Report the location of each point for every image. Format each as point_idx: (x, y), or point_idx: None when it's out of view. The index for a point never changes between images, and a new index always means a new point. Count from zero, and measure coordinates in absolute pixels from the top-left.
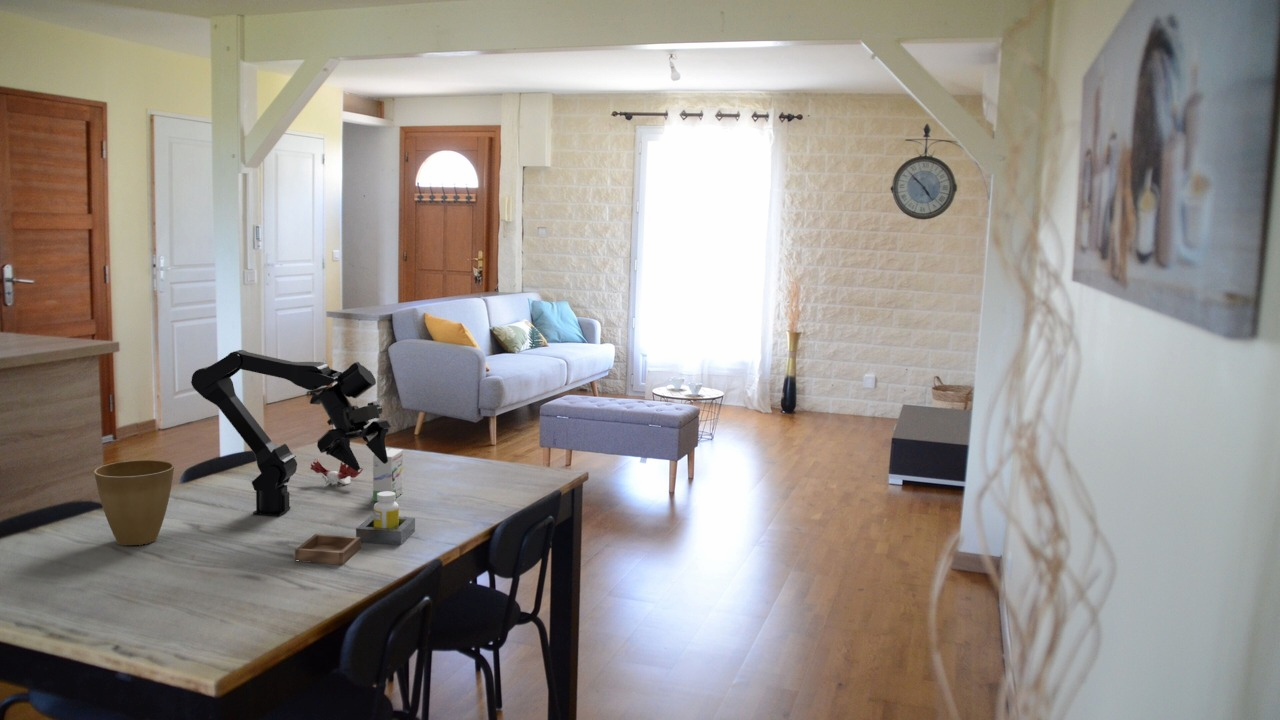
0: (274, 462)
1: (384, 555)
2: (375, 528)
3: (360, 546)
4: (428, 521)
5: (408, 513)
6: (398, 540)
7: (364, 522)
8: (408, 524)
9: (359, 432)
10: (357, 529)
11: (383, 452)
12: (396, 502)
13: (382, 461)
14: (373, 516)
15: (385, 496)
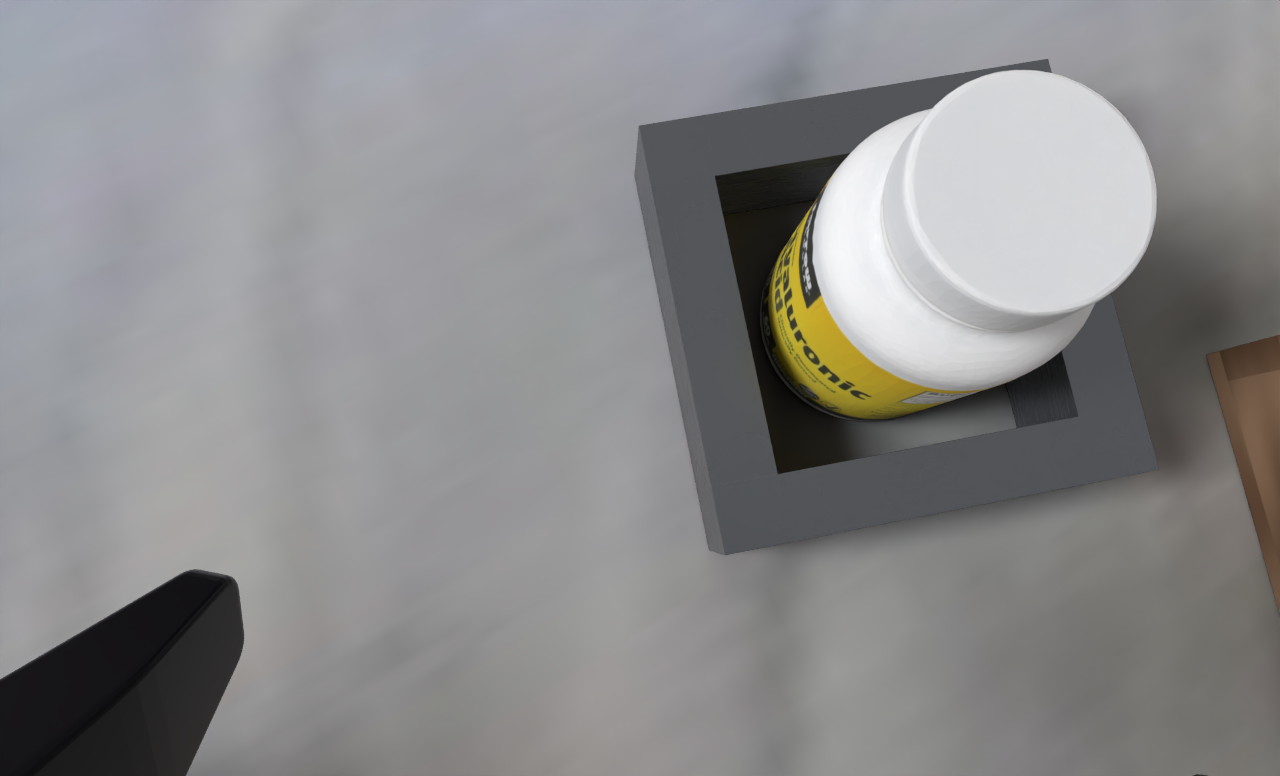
0: None
1: (1245, 117)
2: None
3: (1222, 350)
4: (355, 185)
5: (191, 459)
6: None
7: (968, 494)
8: (839, 93)
9: None
10: (1148, 456)
11: (47, 761)
12: (882, 146)
13: (208, 716)
14: (763, 514)
15: (1139, 143)
